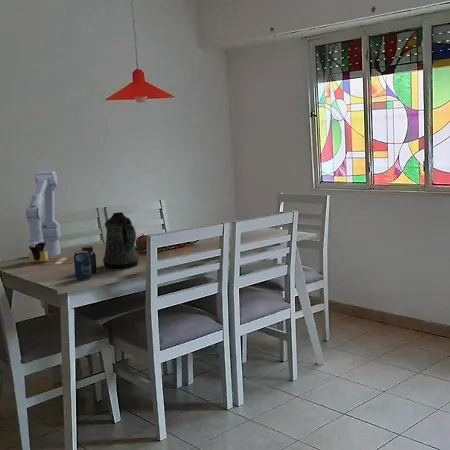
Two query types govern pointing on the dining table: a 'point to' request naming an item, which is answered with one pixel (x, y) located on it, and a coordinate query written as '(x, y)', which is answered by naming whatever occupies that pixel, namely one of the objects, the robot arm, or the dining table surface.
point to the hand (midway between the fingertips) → (38, 258)
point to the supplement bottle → (91, 258)
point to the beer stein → (120, 243)
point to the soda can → (82, 265)
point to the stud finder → (42, 256)
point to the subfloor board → (51, 261)
